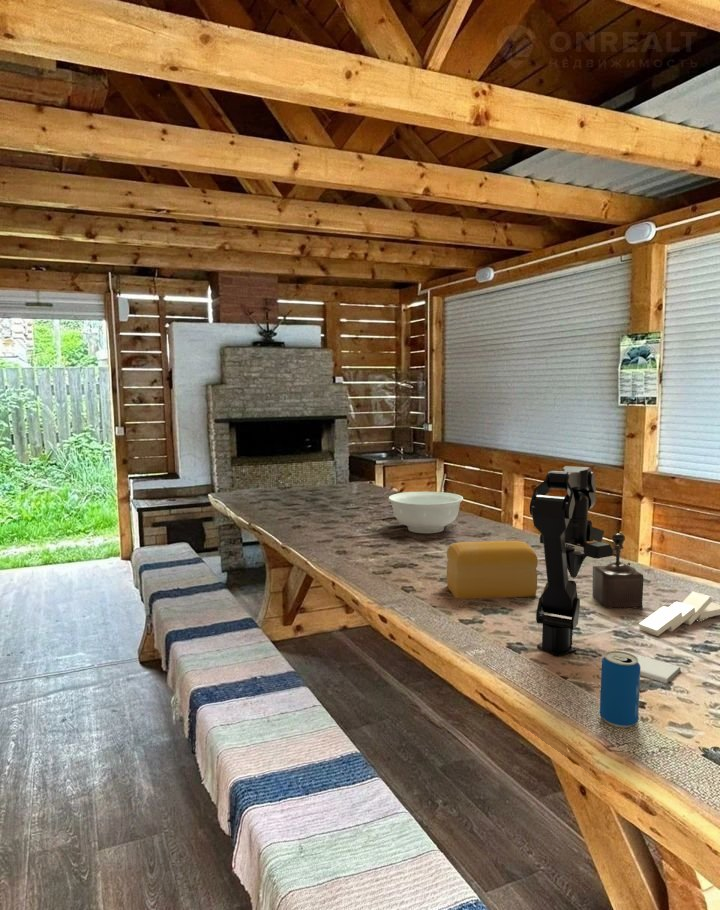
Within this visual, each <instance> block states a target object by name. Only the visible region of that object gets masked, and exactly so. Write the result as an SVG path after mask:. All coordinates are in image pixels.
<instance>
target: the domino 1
mask: <svg viewBox="0 0 720 910" xmlns="http://www.w3.org/2000/svg"><path fill="white" fill-rule="evenodd" d="M669 607H670V606H665V605H663V606H661V607H660V608H658V609H657V610H656V611H654V612H653V613H652V614H650V615H649V616H648V617H646V618H645V619H643V620H642V621H640V622H639V623H638V626H639V630H640V629H641V631H644V632H647V633H648V634H652V635H654V636H656V637H658V636H660V635H661V634H663V633H664V632H665V631H666V630H667V629H668V628H669V627H670V626H672V625H673V624H674V623H676V622H677V621H678V620H680V619H681V618H682V612H681V611H678V610H675V609H672V608H669Z"/></svg>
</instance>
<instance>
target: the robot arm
mask: <svg viewBox="0 0 720 910" xmlns="http://www.w3.org/2000/svg"><path fill="white" fill-rule="evenodd" d="M596 486H597V485H596V478H595V473H594V471H592V467H590V466H572V465H565V466H564V467H562V468H561V470H550V471H548V472H547V473H546V477H545V480H543V481H542V482H541V483H539V485H537V486H536V487H535V488H534V490H533V492H532V495H531V496H532V497H531V498H530V499H531V500H530V503H529V515H531V517H532V523H533V527H534V528H535V529H536V530H537V531H538V532H539V533H540V535H539V543H540V544H542V545H543V553H544V561H545V563H544V564H545V571H546V580H547V582H546V583H545V586H544V589H543V591H542V593H541V595H540V597H539V598H538V601H537V607H536V614H535V621H536V624H541V625H542V629H541V630H542V637H541V638H542V639H541V643H537V644H536V647H537V648H539V649H541V650H543V651H544V652H547V653H549V654H551V655H554V656H555V657H560V656H561V657H562V656H563V655H567V654H571V653H574V652H576V651H577V648H576V647H574V646H572V645H573V632H574V630H575V629H576V628H577V626H578V624H579V617H580V609H581V608H580V607H581V599H580V597H578V592H577V583H576V581H575V580H572V579H571V580H569V575H570V577H571V578H576V577H577V576H578V574H579V572H580V568H581V566H582V564H583V563H584V561H585V559H586V558H587V557H589V558H592V559H603V558H609V557H613V556H614V555H613V554H614V553H613V549H614V546H612V545H611V544H610V543H607V542H602V541H603V538H604V535H605V530H603V529H600V528H596V527H594V526H593V522H592V520H590V519H589V511H590V509H592V508H594V506H595V504H596V501H597V497H596V494H595V493H596V492H597V487H596ZM552 489H553V490H563V491H566V492H567V494H566V495H565V496H561V495H548V493H549V492H550V491H551V490H552ZM548 614H550V615H548ZM551 614H552V615H551ZM555 615H557V616H555ZM561 616H562V617H561ZM565 617H567V618H565ZM568 617H569V618H568Z"/></svg>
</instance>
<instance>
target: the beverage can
mask: <svg viewBox="0 0 720 910" xmlns="http://www.w3.org/2000/svg"><path fill="white" fill-rule="evenodd" d="M622 651H623V650H609V651H606V652H605V653H604V654H603V655H604V657H603V658H602V659H601V666H600V667H601V670H600V694H599V695H600V699H599V715H600V717H601V719H603V720H604V721H605V722H606V723H607V724H608V725H610V726H613V727H616V728H621V729H626V728H631V727H632V726H634V725H636V724H638V723H639V709H640V689H641V688H640V687H641V675H640V664H639V663H638V658H637V657H636V656H634V655H632V654H630V653H631V652H629V653H627V652H628V651H626V652H622Z"/></svg>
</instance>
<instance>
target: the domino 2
mask: <svg viewBox="0 0 720 910" xmlns="http://www.w3.org/2000/svg"><path fill="white" fill-rule="evenodd" d="M668 607H669V608H672V609H675V610H678V611H681V612H682V618H681V619H680V620H678V621H677V622H676V623H674V624H673V625H672V626H670V627H669V628H668V629H666V630H667V631H670V632H673V631H675V629H677V628H678V627H679V626H680V625H682V624H684V623H683V622H684V621H685V620H687V619H688V618H689V617H690V616H692V615H693V614H694V613H695V607H693V606H689V605H686V604H683V603H682V602H679V601H675V602H673V603H672V604H670V606H668Z"/></svg>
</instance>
